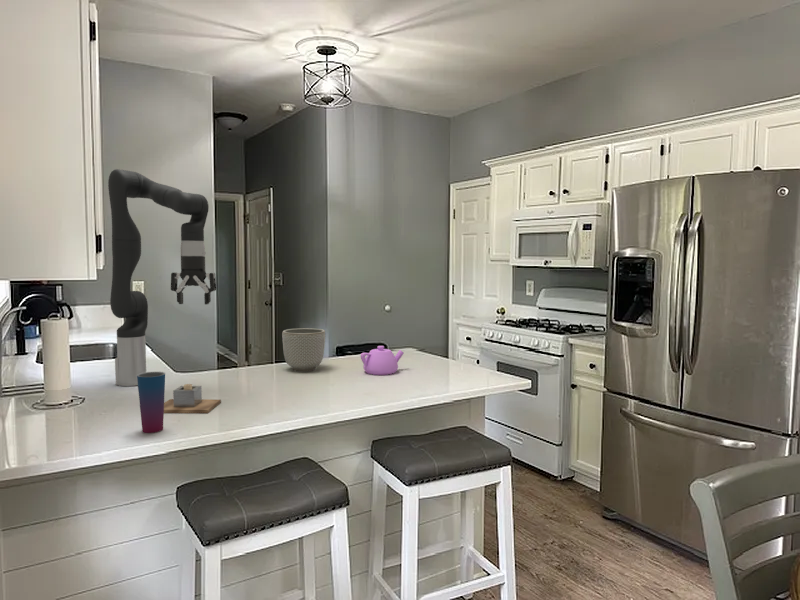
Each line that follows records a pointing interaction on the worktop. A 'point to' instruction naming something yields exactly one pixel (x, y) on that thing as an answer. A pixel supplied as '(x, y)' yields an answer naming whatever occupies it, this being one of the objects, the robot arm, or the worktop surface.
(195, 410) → the post board
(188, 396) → the collar
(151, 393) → the cup
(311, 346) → the planter
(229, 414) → the worktop surface
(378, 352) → the teapot
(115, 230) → the robot arm
